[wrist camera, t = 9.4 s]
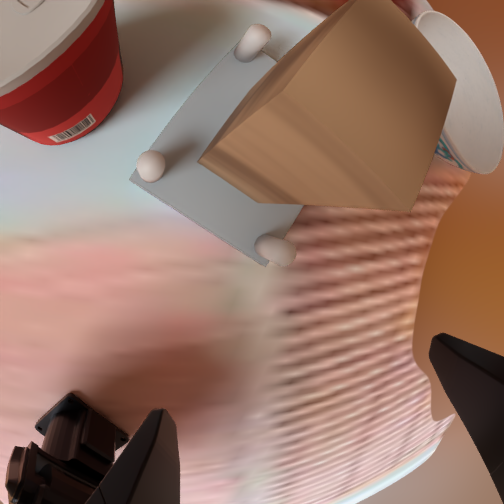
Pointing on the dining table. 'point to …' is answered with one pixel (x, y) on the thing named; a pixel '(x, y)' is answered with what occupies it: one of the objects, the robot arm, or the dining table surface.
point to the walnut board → (340, 116)
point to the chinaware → (466, 99)
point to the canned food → (58, 67)
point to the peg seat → (206, 182)
